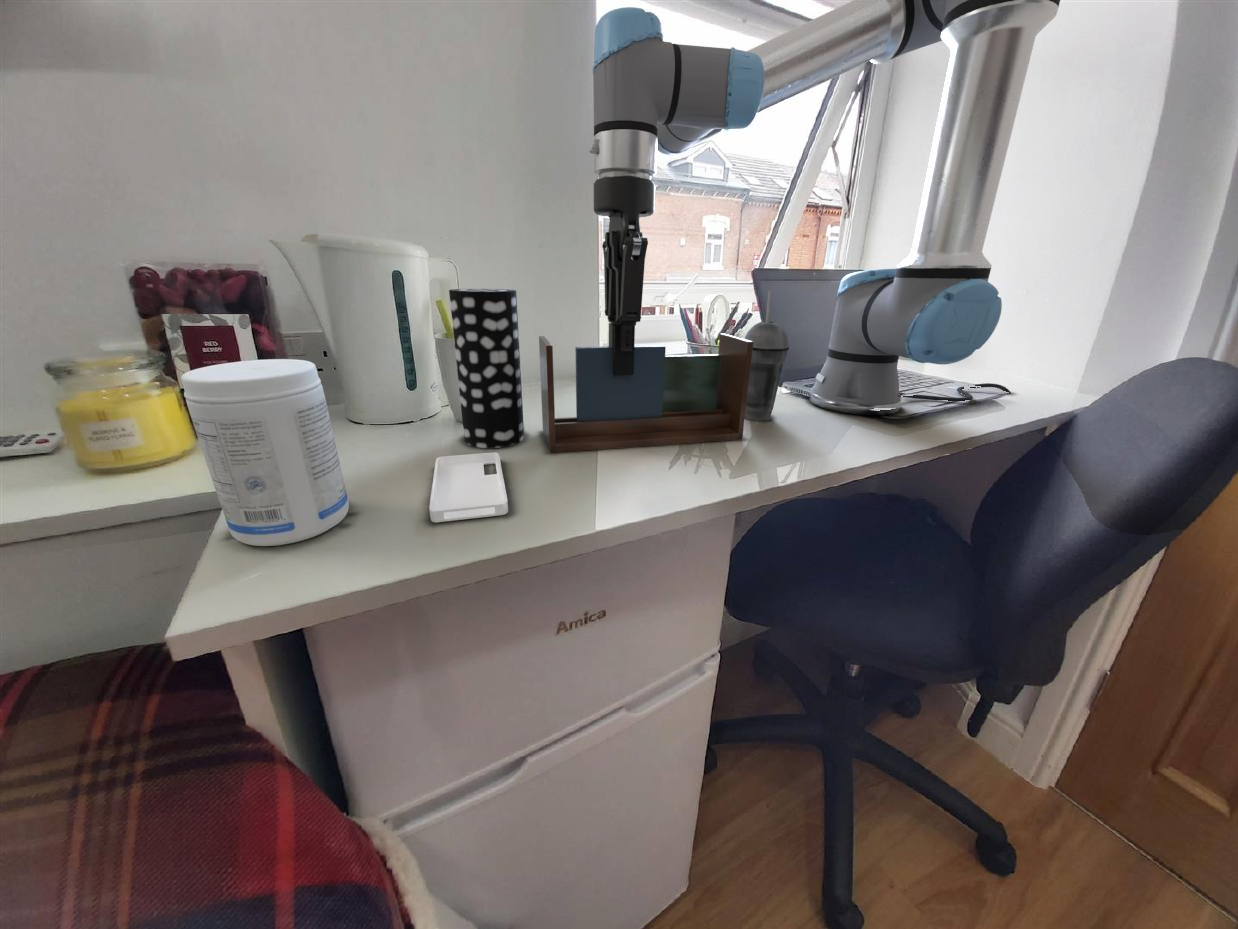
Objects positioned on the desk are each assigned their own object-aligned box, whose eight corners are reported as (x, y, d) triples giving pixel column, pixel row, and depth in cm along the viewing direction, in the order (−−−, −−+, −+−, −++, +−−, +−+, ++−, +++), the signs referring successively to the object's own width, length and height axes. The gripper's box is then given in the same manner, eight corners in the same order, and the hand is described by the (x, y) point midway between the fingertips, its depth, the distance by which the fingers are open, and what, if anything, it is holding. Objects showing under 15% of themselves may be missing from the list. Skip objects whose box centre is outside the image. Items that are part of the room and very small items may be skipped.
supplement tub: (322, 493, 53) (291, 354, 47) (370, 519, 48) (341, 366, 42) (213, 529, 46) (160, 369, 40) (255, 564, 40) (201, 385, 35)
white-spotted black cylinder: (510, 450, 66) (499, 292, 59) (453, 445, 68) (435, 290, 60) (532, 432, 74) (525, 289, 66) (480, 427, 75) (468, 288, 68)
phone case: (437, 466, 60) (430, 524, 47) (436, 456, 60) (428, 511, 47) (499, 461, 62) (508, 515, 49) (498, 451, 62) (508, 502, 48)
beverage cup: (738, 422, 80) (753, 291, 73) (730, 410, 87) (743, 289, 79) (784, 423, 80) (803, 292, 73) (772, 411, 87) (789, 290, 79)
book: (658, 425, 74) (663, 322, 69) (662, 429, 72) (667, 324, 67) (576, 429, 71) (574, 323, 66) (578, 434, 69) (577, 325, 64)
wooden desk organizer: (716, 422, 80) (724, 333, 75) (742, 439, 72) (753, 341, 67) (542, 432, 74) (538, 336, 68) (550, 453, 66) (546, 345, 60)
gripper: (582, 186, 66) (584, 363, 75) (608, 165, 52) (606, 385, 61) (637, 189, 68) (632, 362, 76) (675, 170, 54) (664, 383, 63)
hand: (620, 372), depth 69 cm, fingers closed on book, 2 cm apart
